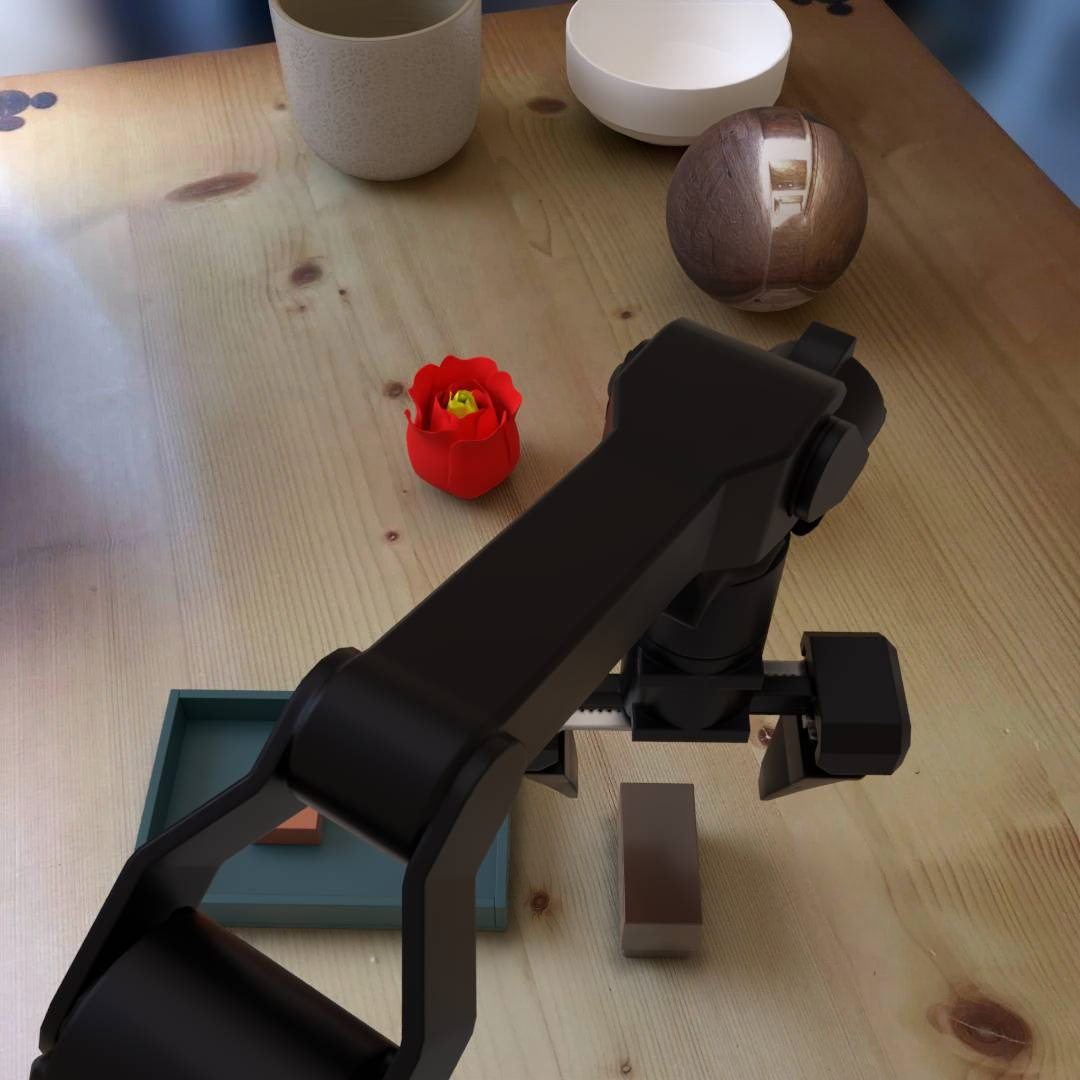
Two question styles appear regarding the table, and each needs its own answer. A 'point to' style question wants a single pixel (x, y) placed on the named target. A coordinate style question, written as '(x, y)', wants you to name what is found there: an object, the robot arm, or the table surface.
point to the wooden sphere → (766, 209)
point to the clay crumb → (297, 830)
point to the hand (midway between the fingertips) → (667, 790)
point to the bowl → (675, 63)
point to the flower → (463, 425)
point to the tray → (283, 869)
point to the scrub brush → (658, 870)
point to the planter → (381, 80)
